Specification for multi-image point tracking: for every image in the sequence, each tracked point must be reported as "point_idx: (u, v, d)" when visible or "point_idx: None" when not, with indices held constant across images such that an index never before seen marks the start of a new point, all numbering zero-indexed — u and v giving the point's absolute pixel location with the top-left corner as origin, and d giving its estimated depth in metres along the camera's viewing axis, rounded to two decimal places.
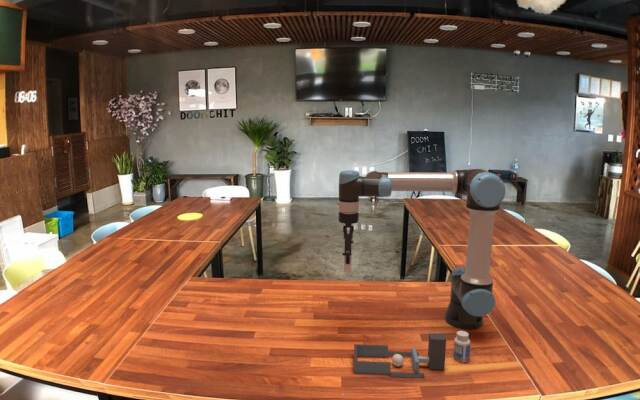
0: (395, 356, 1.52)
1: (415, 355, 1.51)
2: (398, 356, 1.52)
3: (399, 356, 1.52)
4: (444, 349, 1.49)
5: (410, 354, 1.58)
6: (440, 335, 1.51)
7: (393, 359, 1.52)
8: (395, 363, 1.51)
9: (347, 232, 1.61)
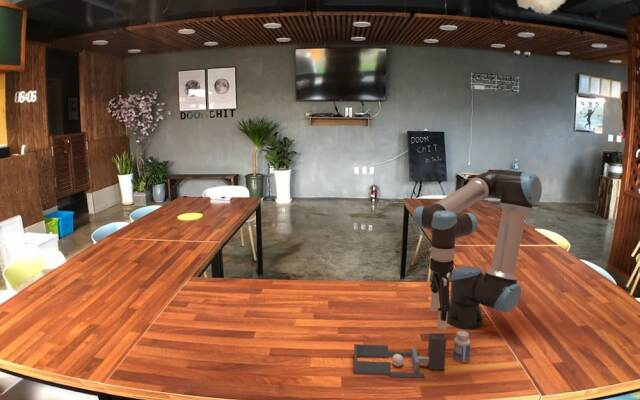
0: (395, 356, 1.52)
1: (415, 355, 1.51)
2: (398, 356, 1.52)
3: (399, 356, 1.52)
4: (444, 349, 1.49)
5: (410, 354, 1.58)
6: (440, 335, 1.51)
7: (393, 359, 1.52)
8: (395, 363, 1.51)
9: (444, 284, 1.39)
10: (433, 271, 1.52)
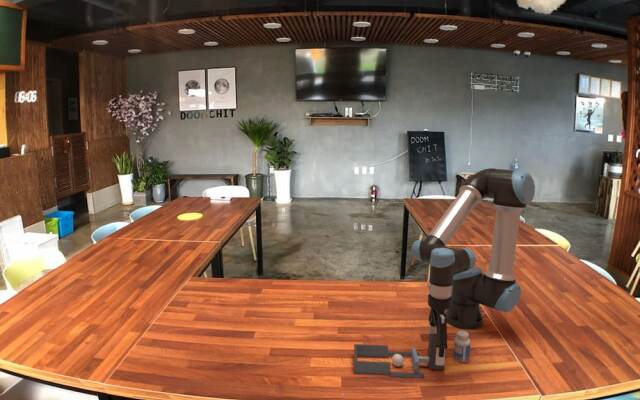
0: (395, 356, 1.52)
1: (415, 355, 1.51)
2: (398, 356, 1.52)
3: (399, 356, 1.52)
4: None
5: (410, 354, 1.58)
6: None
7: (393, 359, 1.52)
8: (395, 363, 1.51)
9: (442, 321, 1.41)
10: None
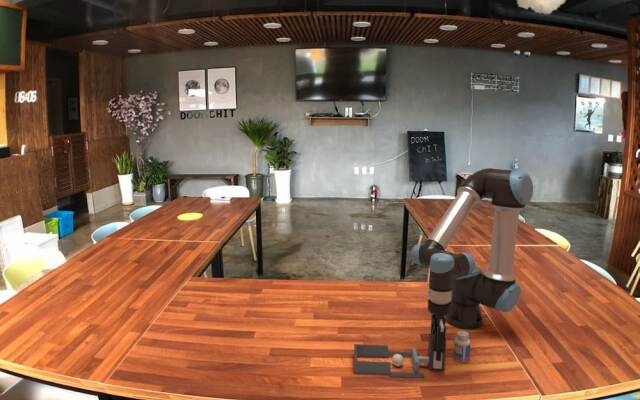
0: (395, 356, 1.52)
1: (415, 355, 1.51)
2: (398, 356, 1.52)
3: (399, 356, 1.52)
4: (444, 349, 1.49)
5: (410, 354, 1.58)
6: None
7: (393, 359, 1.52)
8: (395, 363, 1.51)
9: (441, 331, 1.43)
10: (431, 315, 1.54)
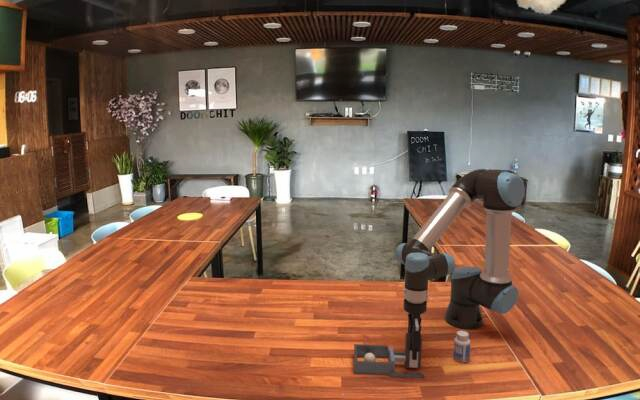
0: (374, 358, 1.53)
1: (392, 354, 1.52)
2: None
3: (374, 361, 1.53)
4: (420, 348, 1.49)
5: None
6: None
7: (372, 356, 1.52)
8: (369, 358, 1.52)
9: (416, 330, 1.43)
10: None
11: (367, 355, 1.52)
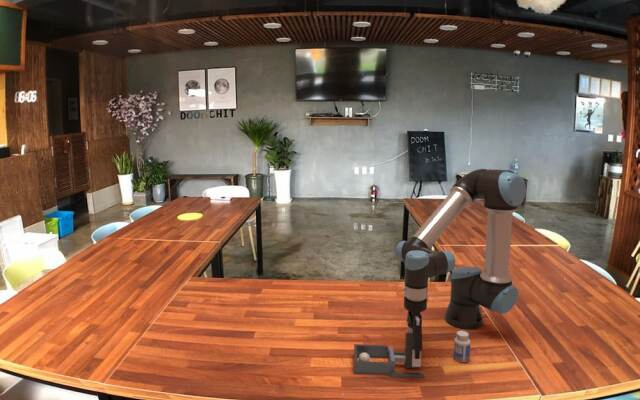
0: (365, 354, 1.53)
1: (392, 354, 1.52)
2: (368, 356, 1.52)
3: (368, 357, 1.53)
4: None
5: None
6: None
7: (362, 355, 1.52)
8: (361, 360, 1.52)
9: (417, 323, 1.42)
10: None
11: (359, 358, 1.53)
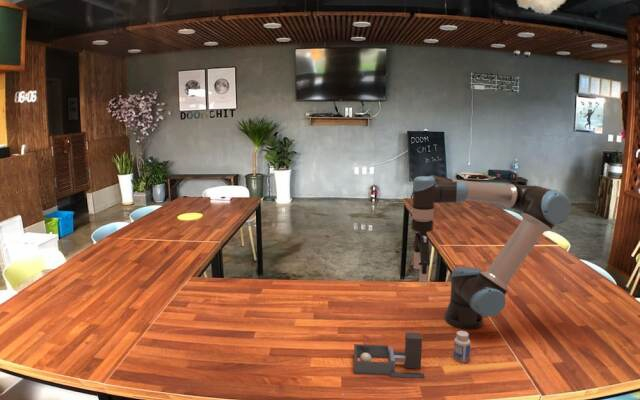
0: (368, 355, 1.53)
1: (392, 354, 1.52)
2: (370, 357, 1.52)
3: (370, 358, 1.53)
4: (420, 348, 1.49)
5: None
6: (416, 334, 1.51)
7: (364, 355, 1.52)
8: (363, 359, 1.52)
9: (424, 241, 1.55)
10: (415, 232, 1.68)
11: (360, 357, 1.53)
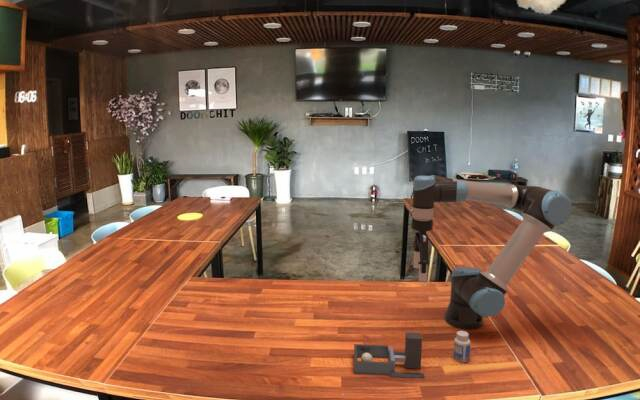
0: (370, 355, 1.52)
1: (392, 354, 1.52)
2: (371, 358, 1.52)
3: (372, 359, 1.53)
4: (420, 348, 1.49)
5: None
6: (416, 334, 1.51)
7: (366, 355, 1.52)
8: (364, 359, 1.52)
9: (423, 240, 1.55)
10: (415, 232, 1.68)
11: (362, 357, 1.53)
